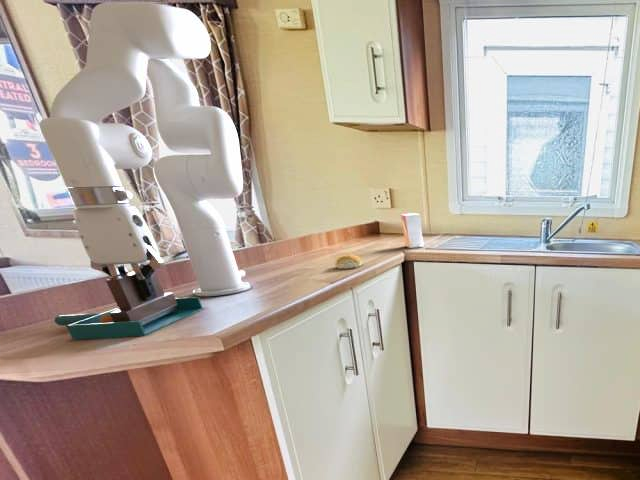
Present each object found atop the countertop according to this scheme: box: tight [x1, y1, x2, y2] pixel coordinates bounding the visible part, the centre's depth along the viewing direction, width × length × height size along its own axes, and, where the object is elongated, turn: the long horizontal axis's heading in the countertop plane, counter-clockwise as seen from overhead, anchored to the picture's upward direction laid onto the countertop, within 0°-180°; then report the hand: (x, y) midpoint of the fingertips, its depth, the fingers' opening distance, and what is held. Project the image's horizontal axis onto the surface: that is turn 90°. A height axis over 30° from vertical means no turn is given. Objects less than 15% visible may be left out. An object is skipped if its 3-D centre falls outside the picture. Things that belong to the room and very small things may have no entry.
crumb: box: [99, 314, 113, 323], centre depth 81 cm, size 3×3×3 cm
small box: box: [400, 213, 425, 249], centre depth 179 cm, size 8×6×13 cm
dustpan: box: [53, 296, 203, 341], centre depth 85 cm, size 22×19×3 cm
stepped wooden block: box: [105, 270, 179, 325], centre depth 83 cm, size 14×3×9 cm, turn 6°
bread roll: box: [334, 253, 363, 270], centre depth 139 cm, size 8×9×4 cm
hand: (142, 299), depth 84 cm, fingers closed on stepped wooden block, 2 cm apart
